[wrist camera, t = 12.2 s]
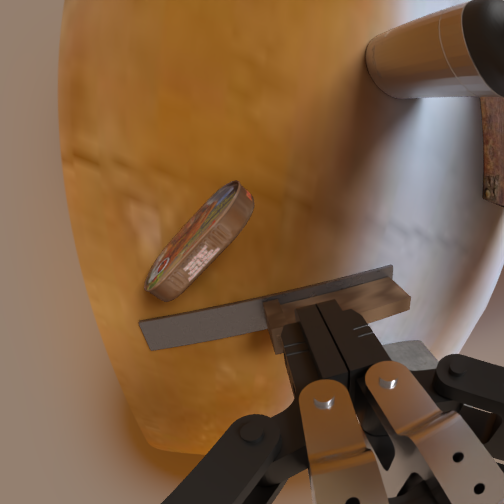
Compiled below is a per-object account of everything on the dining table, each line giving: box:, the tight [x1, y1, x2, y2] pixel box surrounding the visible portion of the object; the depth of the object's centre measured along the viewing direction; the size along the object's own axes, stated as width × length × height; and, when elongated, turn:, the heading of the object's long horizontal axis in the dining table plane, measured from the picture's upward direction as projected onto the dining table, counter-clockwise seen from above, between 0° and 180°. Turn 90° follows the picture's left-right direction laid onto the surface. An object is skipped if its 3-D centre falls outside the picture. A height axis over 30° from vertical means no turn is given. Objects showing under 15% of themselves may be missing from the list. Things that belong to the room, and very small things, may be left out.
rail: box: [139, 265, 393, 351], centre depth 41 cm, size 36×5×1 cm, turn 100°
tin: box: [144, 180, 254, 302], centre depth 31 cm, size 15×3×8 cm, turn 135°
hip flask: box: [382, 341, 473, 407], centre depth 39 cm, size 16×4×20 cm, turn 89°
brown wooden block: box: [263, 277, 411, 355], centre depth 38 cm, size 18×4×6 cm, turn 100°
